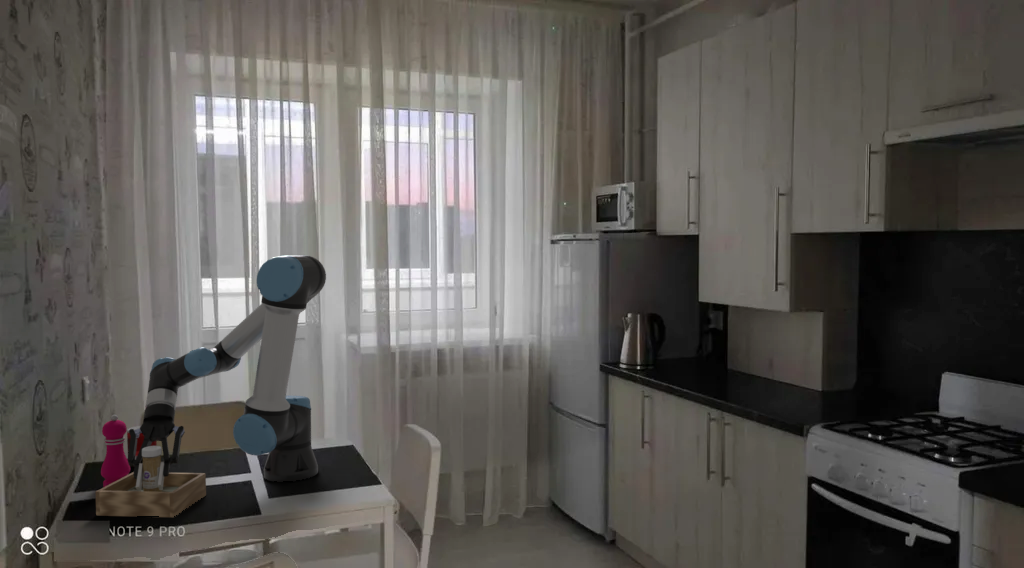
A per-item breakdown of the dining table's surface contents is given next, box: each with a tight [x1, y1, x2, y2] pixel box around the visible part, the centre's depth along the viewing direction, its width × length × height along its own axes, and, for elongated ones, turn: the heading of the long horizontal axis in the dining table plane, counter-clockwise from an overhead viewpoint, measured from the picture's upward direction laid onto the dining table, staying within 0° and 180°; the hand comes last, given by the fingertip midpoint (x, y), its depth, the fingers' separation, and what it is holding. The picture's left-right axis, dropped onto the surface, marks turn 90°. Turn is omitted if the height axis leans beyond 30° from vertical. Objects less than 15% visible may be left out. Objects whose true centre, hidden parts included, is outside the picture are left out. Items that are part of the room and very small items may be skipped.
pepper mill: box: [100, 414, 131, 488], centre depth 202 cm, size 7×7×20 cm
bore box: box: [95, 471, 207, 518], centre depth 187 cm, size 20×16×6 cm
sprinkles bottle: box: [142, 445, 163, 492], centre depth 187 cm, size 5×5×13 cm
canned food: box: [126, 425, 158, 467], centre depth 224 cm, size 8×8×11 cm
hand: (149, 488), depth 184 cm, fingers closed on sprinkles bottle, 4 cm apart
